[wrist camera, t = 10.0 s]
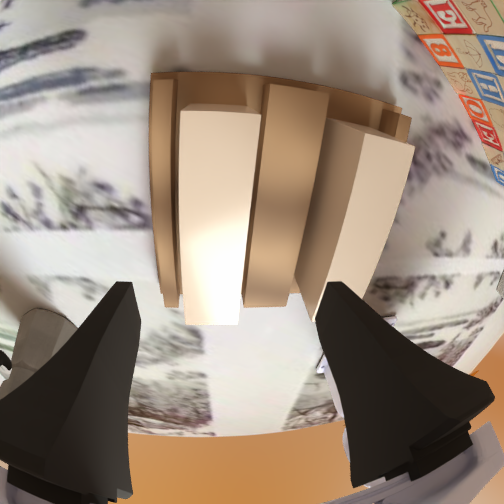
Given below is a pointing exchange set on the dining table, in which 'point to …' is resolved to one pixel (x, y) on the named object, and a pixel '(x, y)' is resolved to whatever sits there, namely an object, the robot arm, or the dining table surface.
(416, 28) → the stack of blocks
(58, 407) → the robot arm
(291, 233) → the rack
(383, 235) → the cream long block
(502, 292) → the tankard
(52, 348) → the coffeepot
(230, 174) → the beige rectangular block
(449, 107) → the dining table surface
